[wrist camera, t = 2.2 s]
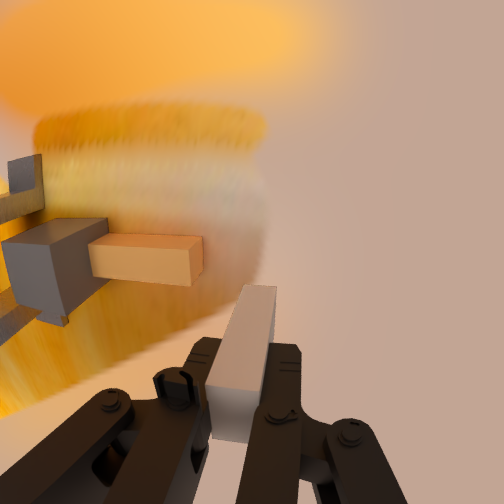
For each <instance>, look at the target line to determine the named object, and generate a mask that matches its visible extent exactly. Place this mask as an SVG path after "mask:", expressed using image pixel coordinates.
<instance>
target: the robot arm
mask: <svg viewBox="0 0 504 504" xmlns="http://www.w3.org/2000/svg"><path fill="white" fill-rule="evenodd" d="M276 288H277V287H275V286H260V285H245V284H244V285H243V288H242V290H241V293H240V295H239V298H238V301H237V303H236V306H235V308H234V311H233V313H232V316H231V319H230V321H229V324H228V326H227V329H226V331H225V334H224V337H223V339H218V338H210V337H203V338H201V339H200V340H199V341H197V342H196V343H195V344H194V346H193V348H192V350H191V352H190V354H189V356H188V357H187V359H186V362H185V364H184V366H183V367H171V368H166V369H163V370H162V371H160V372H158V373H157V374H156V375H155V376H154V377H153V381H154V385H155V389H156V392H157V396H158V398H156V399H150V400H131V399H130V396H129V394H127V393H126V392H125V391H123V390H120V389H117V388H115V389H114V388H113V389H112V388H109V389H105V390H102V391H101V392H99V393H97V394H96V395H95V396H93V397H92V398H91V399H90V400H89V401H88V402H87V403H85V404H84V405H83V406H82V407H81V408H80V409H79V410H77V411H76V412H75V413H74V414H73V415H71V416H70V417H69V418H68V419H67V420H66V421H64V422H63V423H62V424H61V425H60V426H59V427H57V428H56V429H55V430H54V431H53V432H51V433H50V434H49V435H48V436H47V437H46V438H44V439H43V440H42V441H41V442H40V443H39V444H37V445H36V446H35V447H34V448H33V449H32V450H30V451H29V452H28V453H27V454H26V455H25V456H23V457H22V458H21V459H20V460H19V461H17V462H16V463H15V464H14V465H13V466H12V467H10V468H9V469H8V470H7V471H6V472H4V473H3V474H2V475H1V476H0V504H192V503H193V500H194V497H195V494H196V491H197V487H198V484H199V481H200V478H201V474H202V471H203V468H204V465H205V462H206V458H207V455H208V452H209V451H208V450H209V445H208V439H209V436H210V433H212V438H213V439H218V440H225V441H232V442H240V443H248V447H247V452H246V457H245V462H244V466H243V471H242V476H241V480H240V485H239V490H238V494H237V499H236V503H235V504H297V499H298V488H299V479H302V480H305V481H309V482H311V483H312V486H313V490H314V493H315V497H316V500H317V504H408V503H407V501H406V499H405V497H404V495H403V493H402V490H401V488H400V486H399V484H398V482H397V480H396V478H395V476H394V474H393V471H392V469H391V467H390V465H389V463H388V461H387V459H386V457H385V455H384V453H383V451H382V449H381V447H380V444H379V443H378V440H377V439H376V436H375V434H374V432H373V431H372V429H371V428H370V427H369V425H368V424H366V423H364V422H363V421H361V420H357V419H353V418H349V419H342V420H339V421H336V422H334V423H333V424H332V425H330V424H326V423H322V422H319V421H317V420H314V419H312V418H311V417H309V416H308V415H307V414H306V413H305V412H304V411H303V409H302V407H301V354H302V353H301V351H300V350H299V348H298V347H297V345H296V344H282V343H273V339H274V325H275V306H276Z"/></svg>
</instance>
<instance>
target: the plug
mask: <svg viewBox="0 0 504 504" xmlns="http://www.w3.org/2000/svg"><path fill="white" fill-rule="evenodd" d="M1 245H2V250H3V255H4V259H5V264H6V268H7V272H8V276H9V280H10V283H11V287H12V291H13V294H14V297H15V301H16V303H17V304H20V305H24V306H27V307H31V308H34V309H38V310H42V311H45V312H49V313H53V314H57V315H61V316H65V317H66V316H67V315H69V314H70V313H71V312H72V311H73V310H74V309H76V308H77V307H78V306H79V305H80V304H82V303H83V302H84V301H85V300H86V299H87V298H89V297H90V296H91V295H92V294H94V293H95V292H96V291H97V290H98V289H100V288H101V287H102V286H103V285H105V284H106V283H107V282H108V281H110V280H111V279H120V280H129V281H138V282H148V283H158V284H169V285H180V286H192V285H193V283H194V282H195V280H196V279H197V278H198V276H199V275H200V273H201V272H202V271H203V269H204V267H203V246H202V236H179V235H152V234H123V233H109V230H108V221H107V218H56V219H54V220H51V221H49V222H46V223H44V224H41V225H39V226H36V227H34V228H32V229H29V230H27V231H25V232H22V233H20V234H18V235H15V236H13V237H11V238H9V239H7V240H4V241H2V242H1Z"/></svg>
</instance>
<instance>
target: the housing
mask: <svg viewBox="0 0 504 504" xmlns="http://www.w3.org/2000/svg"><path fill="white" fill-rule="evenodd" d="M8 179H9V191H10V192H8V193H4V194H1V195H0V224H3V223H5V222H8V221H11V220H13V219H16V218H18V217H21V216H24V215H27V214H29V213H32V212H35V211H38V210H41V209H43V208H45V204H44V194H43V183H42V167H41V154H38V155H32V156H28V157H24V158H20V159H16V160H13V161H9V162H8ZM35 317H36V319H37V320H40V321H43V322H47V323H50V324H54V325H58V326H61V327H64V326H65V325H67V324H68V323H69V321H68V318H67V316H66V317H65V316H61V315H57V314H53V313H49V312H45V311H42V310H38V309H34V308H31V307H27V306H24V305H20V304H17V303H16V301H15V297H14V294H13V291H12V287H9V288H8V289H6V290H5V291H3V292H2V293H0V346H1V345H3V344H4V343H5V342H6V341H7V340H8V339H10V338H11V337H12V336H13V335H14V334H16V333H17V332H18V331H19V330H20V329H22V328H23V327H24V326H25V325H27V324H28V323H29V322H30V321H31V320H33V319H34V318H35Z"/></svg>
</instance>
